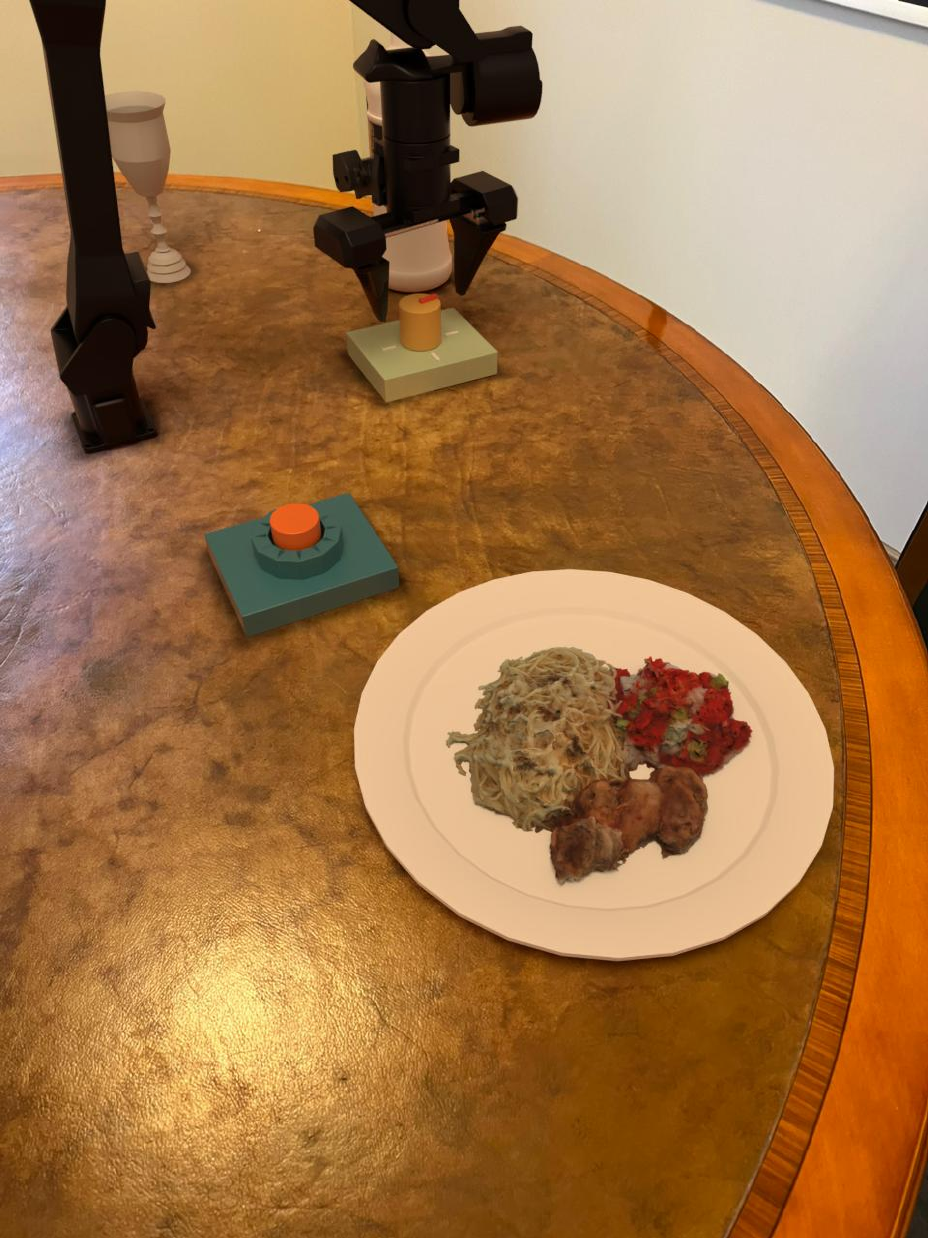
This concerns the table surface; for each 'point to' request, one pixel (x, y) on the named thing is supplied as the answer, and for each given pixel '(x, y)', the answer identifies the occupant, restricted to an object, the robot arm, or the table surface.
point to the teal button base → (301, 567)
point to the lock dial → (420, 322)
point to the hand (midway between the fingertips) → (421, 306)
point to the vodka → (418, 252)
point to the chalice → (145, 167)
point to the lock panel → (421, 358)
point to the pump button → (295, 526)
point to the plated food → (593, 764)
